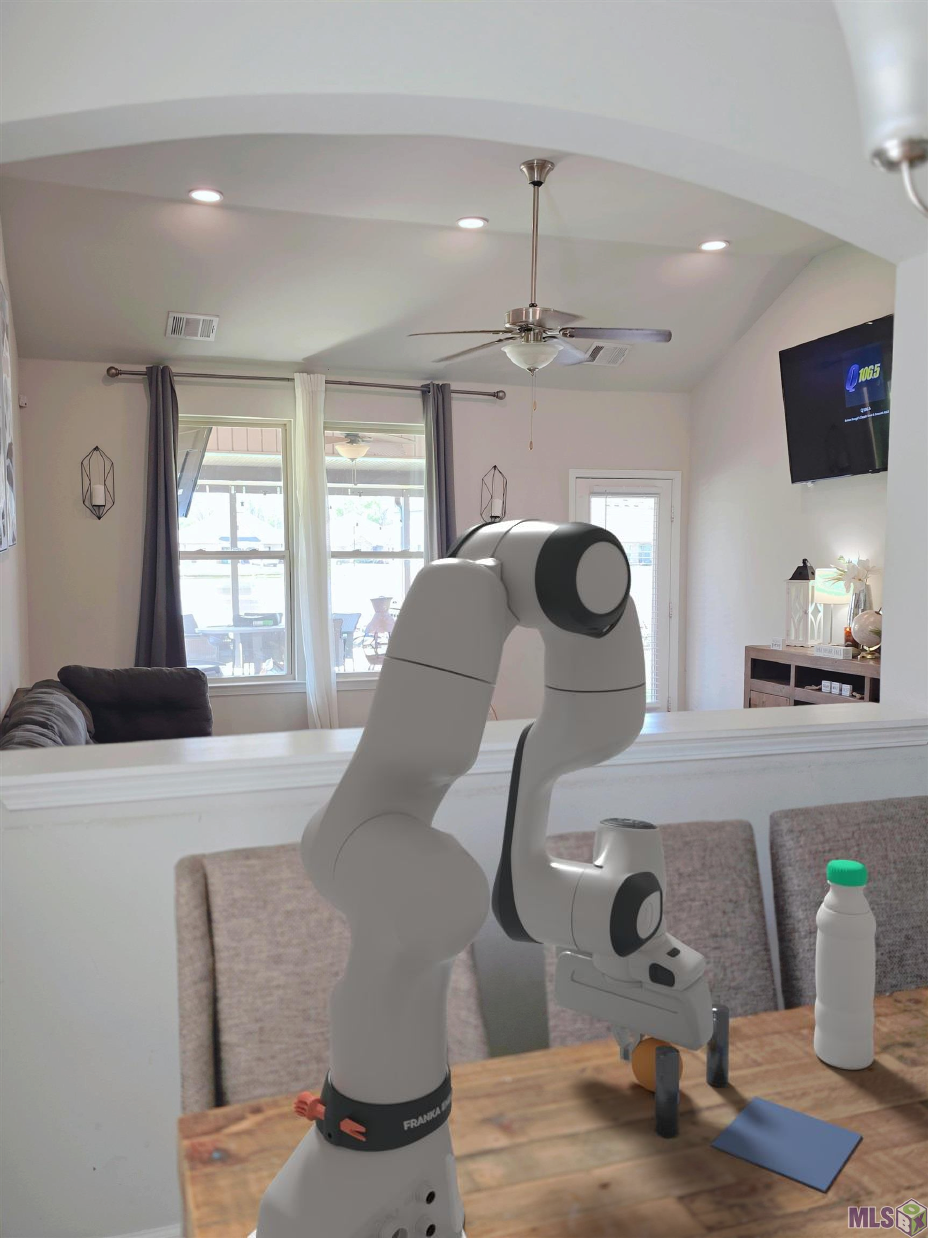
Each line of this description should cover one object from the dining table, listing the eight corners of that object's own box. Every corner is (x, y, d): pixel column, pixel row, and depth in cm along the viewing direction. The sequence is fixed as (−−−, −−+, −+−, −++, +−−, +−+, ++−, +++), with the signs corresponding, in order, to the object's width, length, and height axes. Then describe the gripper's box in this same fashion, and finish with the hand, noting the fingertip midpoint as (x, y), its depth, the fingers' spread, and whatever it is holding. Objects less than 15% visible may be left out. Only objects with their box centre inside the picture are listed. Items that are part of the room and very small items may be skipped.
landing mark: (824, 1192, 93) (824, 1190, 93) (711, 1146, 101) (711, 1144, 101) (862, 1136, 103) (862, 1135, 103) (755, 1098, 110) (755, 1096, 110)
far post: (722, 1089, 112) (723, 1016, 112) (702, 1082, 114) (703, 1009, 113) (731, 1080, 114) (732, 1008, 114) (711, 1073, 116) (712, 1002, 115)
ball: (657, 1111, 109) (671, 1065, 108) (616, 1079, 113) (629, 1035, 112) (684, 1093, 113) (698, 1049, 112) (643, 1063, 117) (656, 1021, 116)
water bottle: (879, 1075, 115) (883, 874, 114) (818, 1069, 117) (822, 870, 116) (866, 1047, 122) (870, 857, 121) (809, 1041, 124) (812, 853, 122)
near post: (672, 1141, 102) (672, 1060, 102) (650, 1132, 104) (651, 1052, 103) (682, 1130, 104) (683, 1050, 104) (661, 1121, 106) (662, 1043, 105)
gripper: (542, 938, 118) (544, 1044, 119) (696, 981, 105) (696, 1100, 106) (569, 922, 123) (570, 1024, 124) (718, 961, 110) (718, 1075, 111)
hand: (629, 1059), depth 115 cm, fingers closed
